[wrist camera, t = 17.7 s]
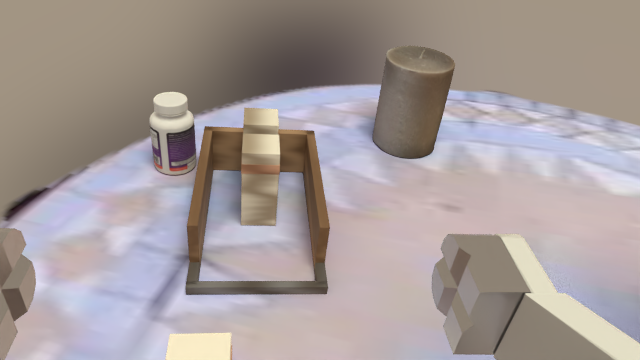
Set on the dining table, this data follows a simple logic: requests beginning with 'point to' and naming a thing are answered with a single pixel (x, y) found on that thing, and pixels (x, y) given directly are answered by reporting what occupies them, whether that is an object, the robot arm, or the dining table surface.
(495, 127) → the dining table surface
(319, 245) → the dispenser
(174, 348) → the banded cream pillar
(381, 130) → the pillar candle
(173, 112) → the pill bottle
